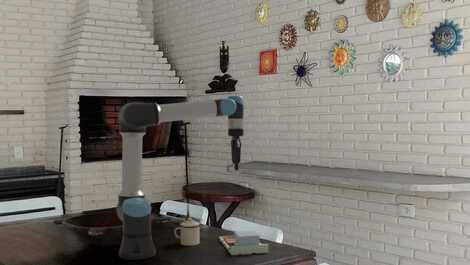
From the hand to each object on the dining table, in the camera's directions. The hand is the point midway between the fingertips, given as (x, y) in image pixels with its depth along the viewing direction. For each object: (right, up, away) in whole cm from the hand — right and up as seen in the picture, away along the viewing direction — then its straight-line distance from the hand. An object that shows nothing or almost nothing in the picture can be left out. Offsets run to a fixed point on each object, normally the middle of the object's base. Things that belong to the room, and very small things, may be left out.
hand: (236, 176), depth 243 cm
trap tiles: (+1, -29, -6) cm, 30 cm away
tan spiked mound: (-26, -29, +27) cm, 48 cm away
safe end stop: (+6, -30, -29) cm, 42 cm away
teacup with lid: (-23, -30, -10) cm, 39 cm away
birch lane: (+3, -30, -15) cm, 34 cm away
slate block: (+5, -30, -24) cm, 38 cm away
